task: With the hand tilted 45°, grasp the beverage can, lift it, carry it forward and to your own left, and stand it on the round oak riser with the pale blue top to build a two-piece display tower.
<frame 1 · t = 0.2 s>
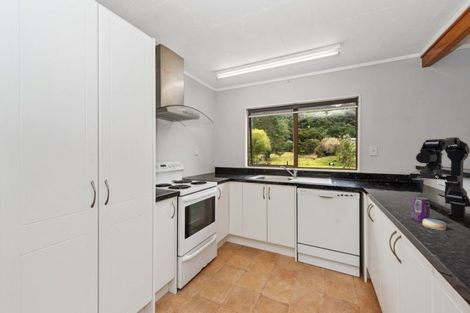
hand: (433, 194, 102), 14 cm above the countertop, tool pointing down, fingers open, 9 cm apart
beverage can: (420, 220, 105), on the countertop
riser: (433, 226, 96), on the countertop
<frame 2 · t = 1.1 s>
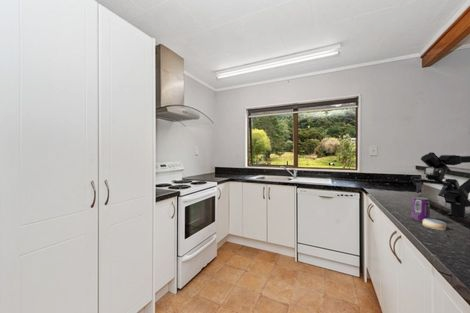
hand: (428, 194, 107), 13 cm above the countertop, tool tilted 45°, fingers open, 9 cm apart
nothing on the countertop moved.
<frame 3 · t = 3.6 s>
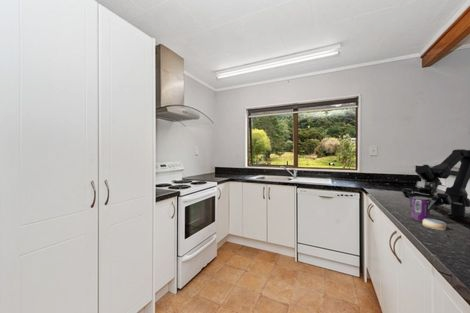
hand: (419, 208, 104), 7 cm above the countertop, tool tilted 45°, fingers closed on beverage can, 7 cm apart
beverage can: (420, 220, 105), on the countertop, touching gripper
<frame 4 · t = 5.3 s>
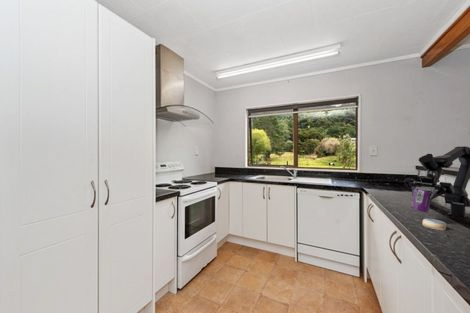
hand: (421, 197, 102), 12 cm above the countertop, tool tilted 45°, fingers closed on beverage can, 7 cm apart
beverage can: (419, 210, 104), point 5 cm above the countertop, touching gripper
when the fingers open (10 cm above the countertop, at t = 6.9 s): beverage can stays where it is, resting on riser.
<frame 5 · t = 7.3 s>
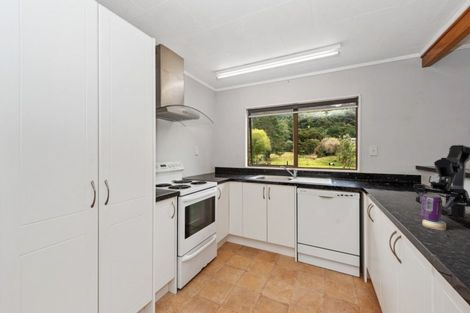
hand: (432, 205, 95), 11 cm above the countertop, tool tilted 45°, fingers open, 9 cm apart
beverage can: (430, 219, 97), point 3 cm above the countertop, touching gripper, riser
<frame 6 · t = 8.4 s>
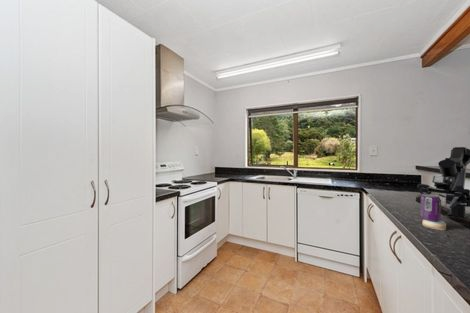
hand: (436, 205, 96), 10 cm above the countertop, tool tilted 45°, fingers open, 9 cm apart
beverage can: (430, 220, 97), point 3 cm above the countertop, touching riser
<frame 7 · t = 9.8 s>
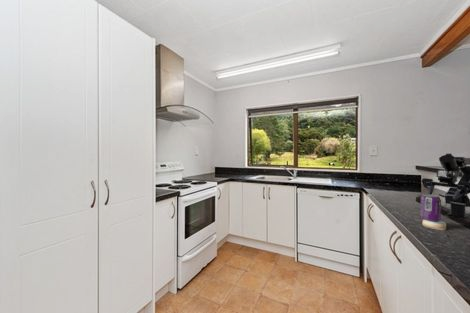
hand: (440, 197, 103), 12 cm above the countertop, tool tilted 45°, fingers open, 9 cm apart
nothing on the countertop moved.
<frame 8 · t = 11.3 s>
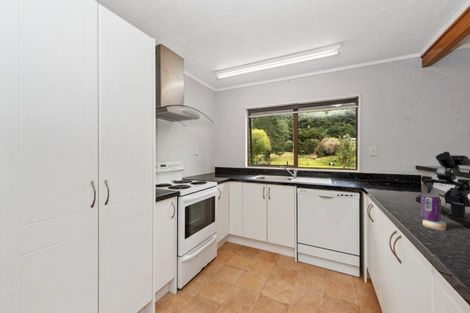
hand: (439, 194, 106), 14 cm above the countertop, tool tilted 45°, fingers open, 9 cm apart
nothing on the countertop moved.
at the end: beverage can 1.6 cm off-centre on the riser, point 2.7 cm above the riser's base; beverage can tilted 0°; the gripper is holding nothing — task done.
